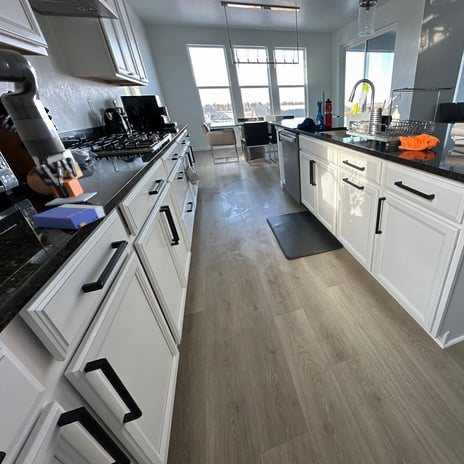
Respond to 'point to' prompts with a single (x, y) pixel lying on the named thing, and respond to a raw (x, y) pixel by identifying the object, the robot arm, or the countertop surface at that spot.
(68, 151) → the middle block
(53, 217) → the walkman
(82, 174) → the bottom block
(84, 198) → the pad
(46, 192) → the onion
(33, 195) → the countertop surface
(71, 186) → the top cube
